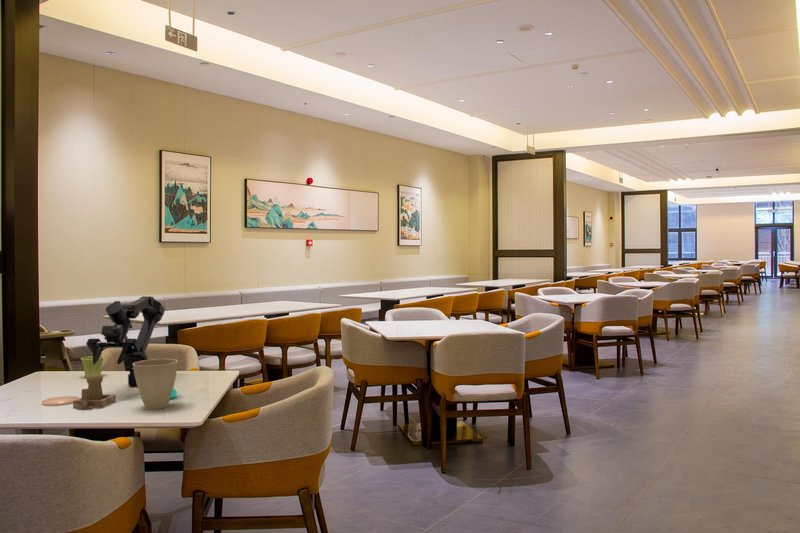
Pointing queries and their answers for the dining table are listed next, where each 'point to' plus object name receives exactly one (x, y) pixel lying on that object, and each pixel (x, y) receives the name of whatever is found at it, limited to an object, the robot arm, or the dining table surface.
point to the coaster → (59, 401)
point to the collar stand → (92, 401)
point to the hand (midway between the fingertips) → (105, 363)
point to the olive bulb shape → (95, 387)
